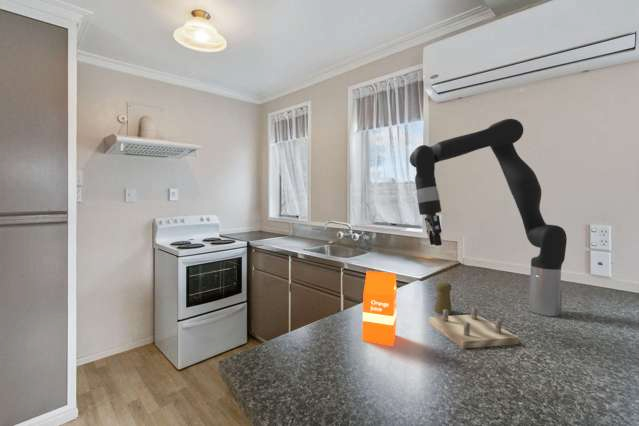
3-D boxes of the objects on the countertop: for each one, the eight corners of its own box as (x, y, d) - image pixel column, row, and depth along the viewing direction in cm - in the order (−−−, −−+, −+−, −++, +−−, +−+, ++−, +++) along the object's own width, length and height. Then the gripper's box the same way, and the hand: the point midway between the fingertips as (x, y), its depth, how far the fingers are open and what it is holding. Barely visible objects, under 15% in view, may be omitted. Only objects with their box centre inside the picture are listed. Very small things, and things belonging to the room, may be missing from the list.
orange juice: (392, 346, 87) (394, 276, 86) (362, 340, 90) (363, 273, 89) (395, 334, 94) (397, 270, 93) (367, 330, 97) (368, 268, 96)
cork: (453, 315, 111) (454, 285, 110) (436, 313, 112) (436, 284, 112) (449, 309, 117) (450, 281, 116) (433, 308, 118) (434, 280, 117)
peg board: (476, 319, 107) (476, 304, 107) (518, 343, 89) (519, 325, 89) (429, 322, 104) (429, 306, 103) (463, 348, 86) (463, 329, 86)
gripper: (443, 197, 103) (451, 244, 102) (435, 201, 118) (442, 243, 116) (421, 200, 105) (428, 247, 103) (415, 204, 119) (422, 245, 117)
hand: (435, 245), depth 110 cm, fingers open, 8 cm apart
